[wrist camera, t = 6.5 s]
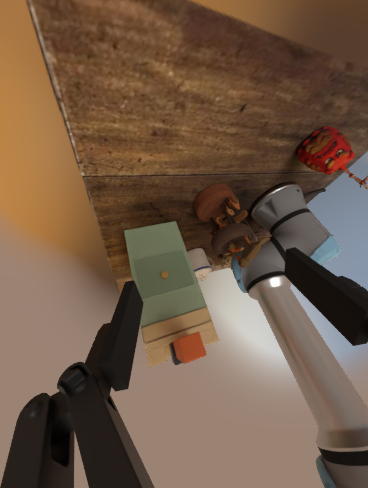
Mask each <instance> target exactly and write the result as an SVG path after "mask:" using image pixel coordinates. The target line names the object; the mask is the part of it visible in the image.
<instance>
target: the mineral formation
mask: <svg viewBox="0 0 368 488" xmlns="http://www.w3.org/2000/svg"><path fill="white" fill-rule="evenodd" d="M240 249H241V250H240V251H239V252H237V251H235V252H234V253H228V254H224V255H223V259H222V261H223V262H222V265H221V267H222V268H225V267H228V268H231V269H232V266H231V260H232V257H233V256H234V255H236V254H238V253H240V252H241V251H242V250H243V249H245V248H244V247H242V248H240Z"/></svg>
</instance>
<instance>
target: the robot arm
mask: <svg viewBox="0 0 368 488" xmlns="http://www.w3.org/2000/svg"><path fill="white" fill-rule="evenodd" d="M325 191H326V189H322V190H317V191H314V192H311V193H309V194H307V195H304V196H303V194H302V191H301V189H300V187H299V186H298V185H297V184H296V183H294V182H286V183H283V184H280V185H278V186H276V187H274V188H272V189H270V190H269V191H267V192H266V193H264V194H263V195H262V196H261V197H260V198H259V199H258V200H257V201H256V202H255V203H254V205H253V206H252V208H251V211H250V214H251V216H252V217H253V219H254V220H255V221H256V222H258V223H259V224H260V225H262V226H261V227H262V228H263V229H267V230H268V231H269V232H270V234H271V235H272V237H270V238H271V239H270V240H268V241H267V242H265V243H264V244H262V245H263V247H262V248H261V250H260V251H259V253H258V254H257V256H256V257H255V258H254V259H253V260H251V261H249V265H248V267H246V268H242V267H240V266H239V265H238V260H237V259H236V257H235V256H238V257H241V252H242V251H243V250H242V251H241V252H240V253H238V254H236V255H234V256H233V257H232V260H231V266H232V270H233V273H234V276H235V279H236V280H237V283H238V286H239V288H240V289H241V291H243V292H244V293H248V294H249V296H250V297H251V298H253V299H256V300H258V302H259V304H260V306H261V308H262V310H263V312H264V314H265V316H266V319H267V321H268V323H269V325H270V327H271V329H272V331H273V333H274V335H275V337H276V339H277V342H278V344H279V346H280V348H281V350H282V352H283V354H284V356H285V358H286V360H287V362H288V364H289V366H290V369H291V371H292V372H293V375H294V376H295V379H296V381H297V383H298V385H299V387H300V389H301V391H302V394H303V396H304V397H305V400H306V402H307V404H308V406H309V408H310V410H311V412H312V414H313V416H314V418H315V421H316V423H317V425H318V434H317V439H316V443H317V446H318V448H319V450H320V452H321V455H320V456H319V457H318V458H317V459H316V465H317V469H318V472H319V475H320V478H321V480H322V483H323V485H324V487H325V488H368V408H367V406H366V405H365V403H364V402H363V400H362V398H361V397H360V395H359V394H358V392H357V391H356V389H355V388H354V386H353V385H352V383H351V382H350V380H349V379H348V377H347V375H346V374H345V372H344V371H343V369H342V368H341V366H340V364H339V363H338V361H337V360H336V359H335V357H334V355H333V354H332V352H331V351H330V349H329V347H328V346H327V345H326V343H325V342H324V340H323V338H322V337H321V335H320V334H319V332H318V330H317V329H316V328H315V326H314V324H313V323H312V321H311V320H310V318H309V317H308V315H307V314H306V312H305V310H304V309H303V307H302V306H301V304H300V303H299V301H298V300H297V298H296V297H295V295H294V293H293V292H292V291H291V289H290V286H291V283H292V284H293V285H294V286H295V287H296V288H297V289H298V290H299V291H300V292H301V293H302V294H303V295H304V296H305V297H306V298H307V299H308V300H309V301H310V302H311V303H312V304H313V305H314V306H315V307H316V308H317V309H318V310H319V311H320V312H321V313H322V314H323V315H324V316H325V317H326V318H327V319H328V321H329V322H331V324H332V325H333V326H335V328H336V329H337V330H338V331H339V332H340V333H341V334H342V335H343V336H344V337H345V338H346V339H347V340H348V341H349V342H350V343H351V344H352V345H353V346H355V345H361V344H366V343H367V342H368V291H367V290H366V289H365V288H363V287H361V286H360V285H358V284H357V283H356V282H354V281H353V280H351V279H348V278H346V277H343V276H339V277H337V276H335V275H334V274H332V273H331V272H330V271H328V270H326V269H325V268H324V267H323V266H322V265H324V264H326V263H327V262H329V261H330V260H332V259H333V258H335V257H336V256H337V255H338V254H339V253H340V251H341V247H340V245H339V244H338V243H337V242H336V240H335V239H334V238H333V235H331V234H330V233H329V232H328V230H327V229H326V228H325V227H324V226H323V225H322V224H321V223H320V221H319V220H318V219H317V218H316V217H315V216H314V215H313V214H312V212H311V211H310V210H309V209H308V208H307V206H306V203H305V200H304V198H306V197H308V196H311V195H313V194H316V193H320V192H325ZM143 304H144V303H143V301H142V298H141V296H140V293H139V291H138V288H137V286H136V284H135V281H134V280H133V281H128V282H125V284H124V287H123V290H122V293H121V296H120V298H119V301H118V304H117V307H116V309H115V312H114V315H113V318H112V320H111V323H107V324H103V326H102V327H101V328H100V330H99V331H98V333H97V335H96V338H95V341H94V342H93V345H92V347H91V350H90V352H89V354H88V357H87V359H86V362H85V364H84V363H83V362H77V363H75V364H73V365H71V366H70V367H68V368H67V369H66V370H65V371H64V372H63V374H62V375H61V377H60V378H59V381H58V384H57V389H59V390H60V391H59V392H58V393H56V394H54V395H52V396H49V395H48V394H47V393H41V394H39V395H37V396H35V397H34V398H33V399H31V400H30V401H29V402H28V403H27V404H26V405H25V407H24V408H23V410H22V411H21V413H20V415H19V417H18V420H17V423H16V427H15V431H14V435H13V439H12V443H11V447H10V452H9V455H8V459H7V463H6V467H5V471H4V475H3V479H2V483H1V487H0V488H74V430H75V434H76V438H77V442H78V446H79V450H80V454H81V458H82V462H83V465H84V469H85V473H86V477H87V481H88V485H89V488H154V486H153V484H152V481H151V479H150V477H149V475H148V473H147V471H146V469H145V467H144V465H143V463H142V460H141V458H140V456H139V454H138V452H137V450H136V448H135V446H134V444H133V441H132V439H131V438H130V435H129V433H128V431H127V429H126V427H125V425H124V423H123V421H122V418H121V416H120V414H119V412H118V410H117V408H116V406H115V404H114V402H113V400H112V397H111V396H110V391H111V387H112V388H113V389H114V390H115V391H120V390H125V389H128V386H129V381H130V376H131V370H132V365H133V359H134V354H135V348H136V342H137V337H138V332H139V326H140V321H141V315H142V310H143Z"/></svg>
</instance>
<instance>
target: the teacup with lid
mask: <svg viewBox="0 0 368 488" xmlns="http://www.w3.org/2000/svg"><path fill="white" fill-rule="evenodd" d="M187 253H188V256H189V259H190V262H191V264H192V267H193V270H194V273H195V275H196V278H197V279H201V281H203V280H205V279H206V276H207V275H208V274H209V273H210V272H211V271H212V267H213V266H214V262H213V261H212V259H211V258H209V257H206V255H205V252H204V250H203V249H201V248H196V249H192V250H190V251H188V252H187ZM208 260H209V261H210V262H211V264H212V265H211V266H210V264H209V262H208Z"/></svg>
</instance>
